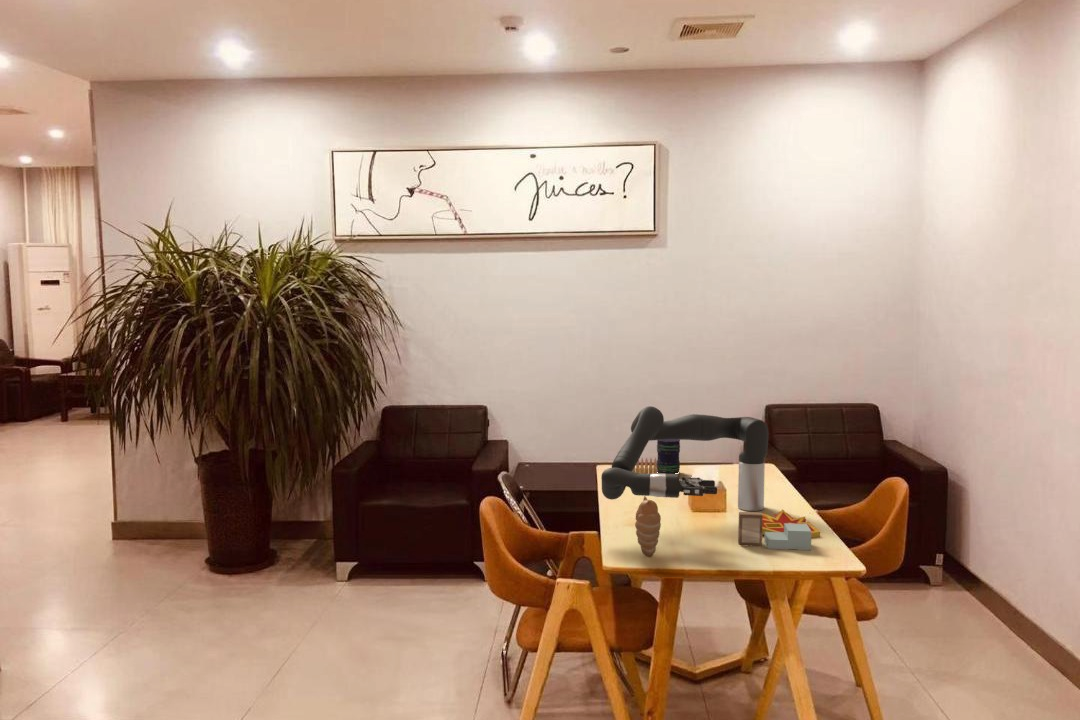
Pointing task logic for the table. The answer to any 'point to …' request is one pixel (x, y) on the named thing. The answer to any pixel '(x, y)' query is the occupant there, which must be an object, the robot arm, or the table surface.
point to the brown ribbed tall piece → (648, 526)
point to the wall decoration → (778, 523)
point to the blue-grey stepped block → (790, 537)
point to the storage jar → (668, 456)
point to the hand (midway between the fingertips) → (715, 487)
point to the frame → (750, 528)
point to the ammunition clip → (646, 467)
